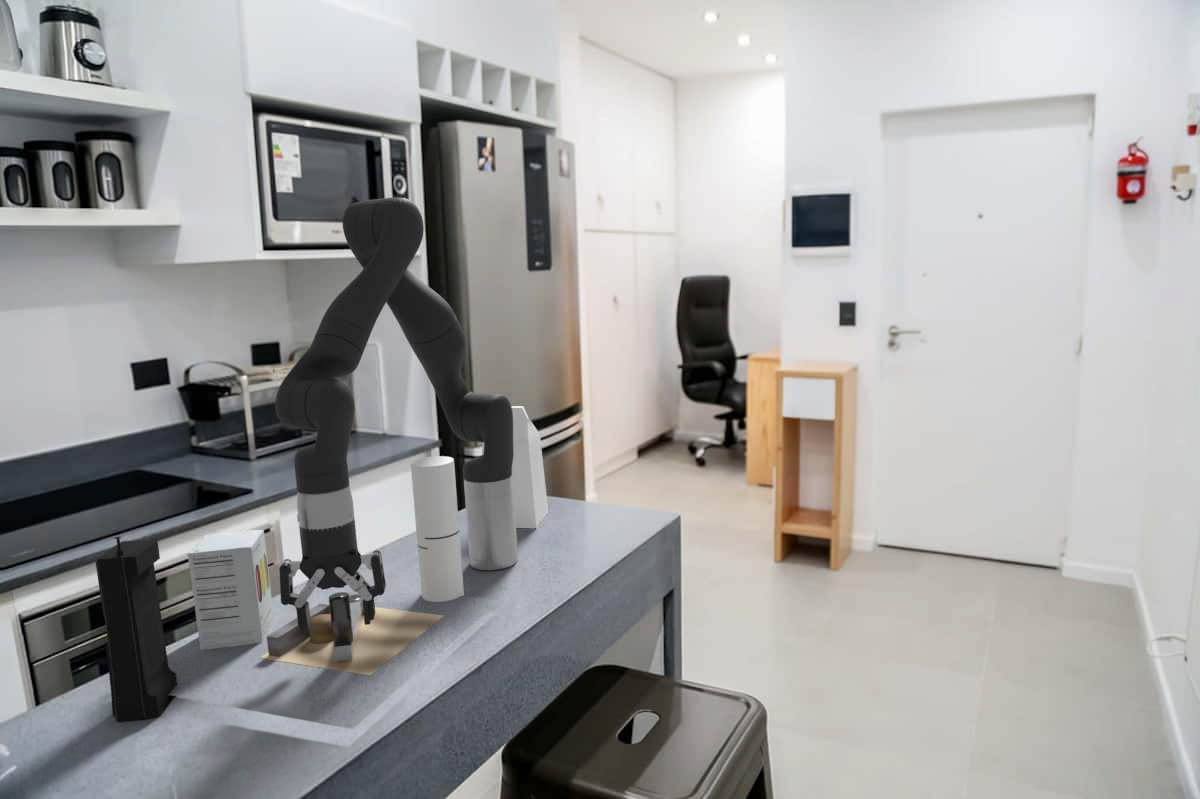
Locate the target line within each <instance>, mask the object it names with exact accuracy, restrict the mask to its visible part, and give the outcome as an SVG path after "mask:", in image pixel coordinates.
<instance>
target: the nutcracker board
mask: <svg viewBox="0 0 1200 799" xmlns="http://www.w3.org/2000/svg"><path fill="white" fill-rule="evenodd" d="M309 610H310V619H311V618H313V617H315V616H318V615H323V614H330V606H329V604H326V603H325V604H324V603H319V604H317V605H314V606H313V607H312V608H311V609H310V608H309ZM444 617H445V615H443V614H435V613H434V614H433V613H428V612H427V613H426V612H418V611H411V610H401V609H394V608H387V607H386V608H385V607H378V606H375V616H374V619H373V620H371V623H370V624H368V625H365V622H364V613H362V616H361V621H360V625H359V630H358V635H357V640H356V645H355V649H354V654H353V659H351V660H343V661H335V655H334V644H333V641H330V642H327V643H321V644H316V643H312V642H311V641H310V632H309V631H305V632H304V631H303V628H300V627H299V626H298V619H297V617H295V618H294V619H293V620H291V621H290V622H288V623H286V624H285V625H283V626H281V627H279V628H278V629H276V630H274V631H273V632H271V633H270V634H268V635H266V642H267V643H266V644H267V649H268V650H267V652H266V653H263V655H261V656H259V659H263V660H270V661H277V662H282V663H289V664H295V665H300V666H301V665H302V666H308V667H314V668H321V669H327V670H332V671H333V670H334V671H340V672H346V673H352V674H357V675H358V674H359V675H365V676H372V675H373V674H375V673H376V672H377V671H379V669H380V668H382V667H383V666H384V665H386V664H388V662H390V661H391V660H393V658H394V657H396V656H397V655H398V654H400V652H402V651H403V650H404V649H406V648H407V647H408V646H409V645H411V644H412V643H413V642H414V641H416V639H418V638H419V637H420V636H422V635H423V634H424V633H426V632H427V631H428V630H429V629H430V628H432V627H433V626H434V625H435V624H437V622H439V621H440V620H441V619H443V618H444Z"/></svg>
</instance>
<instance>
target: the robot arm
mask: <svg viewBox="0 0 1200 799" xmlns="http://www.w3.org/2000/svg"><path fill="white" fill-rule="evenodd" d="M424 228H425V226H424V219H423V216H422V213H421V211H420V209H419V207H418V206H417V205H416V204H415V203H414V202H413V201H412V200H410V199H408V198H406V197H384V198H375V199H367V200H361V201H357V202H353V203H351V204H349V205H348V206H347V207H346V208H345V210H344V212H343V215H342V229H343V235H344V237H345V240H346V243H347V245H348V247H349V249H350V251H351V253H352V254H353V255H354V257H355V259H356V260H357V262H358V263H359V264H360V266H361V267H362V270H361V271H360V273H359V274H358V275H357V276H356V277H355V278H354V279H353V280H352V281H351V282H350V283H349V284H348V285H347V286H346V287H345V288H344V289H343V290H342V291H341V292H340V293H339V294H338V295H337V296H336V298H334V299H333V301H332V302H331V303H330V305H329V306H328V307H327V309H326V311H325V312H324V315H323V317H322V318H321V321H320V323H319V325H318V328H317V330H316V333H315V335H314V337H313V339H312V342H311V345H310V346H309V348H308V349H307V350H306V351H305V352H304V353H303V355H301V357H300V358H299V359H298V361H297V362H296V364H294V366H293V367H292V368H291V369H290V371H289V372H288V373H287V375H286V376H285V377H284V379H283V380H282V382H280V385H279V387H278V390H277V393H276V396H275V404H274V406H275V413H276V416H277V418H278V420H279V422H280V423H282V424H283V425H284V426H286V427H287V428H290V429H294V430H314V431H315V430H316V439H315V441H314V442H315V443H314V444H311V445H307V446H303V447H302V448H300V449H298V450H297V451H296V453H295V454H294V458H293V459H294V461H293V462H294V473H295V475H294V476H295V482H296V490H297V492H296V493H297V495H296V496H297V499H296V501H297V502H296V504H297V505H296V511H297V515H296V518H297V522H298V528H299V538H300V546H301V554H302V556H301V560H297V561H295V560H294V561H293V560H291V559H289V558H286V559H284V560H283V562H282V563H281V565H280V567H279V570H278V571H279V587H280V588H279V590H280V603H281V604H282V605H283V606H288V605H290V606H294V608H295V610H296V618H297V619H298V626H299V627H300V628H303V631H304V632H305V631H309V630H310V627H311V619H310V602H309V601H308V599H309V597H310V596H312V594H313V592H314V591H315V589H316V587H317V588H319V589H320V590H321V591H323V590H328V589H331V588H334V589H341V588H342V589H343V588H345V587H346V586H348V587H349V588H350V589H351V590H352V591H353V592H356V594H359V595H360V596H361V597H362V598H363V611H364V622H365V625H368V624H370V623H371V620H373V619H374V616H375V607H376V605H375V604H376V603H375V598H376V597H378V596H382V595H384V593H385V591H386V586H387V584H386V578H385V570H384V564H383V559H382V558H383V557H382V552H381V551H380V550H377V549H376V550H374V551H373V553H369V554H363V555H362V554H361V553H360V551H359V550H358V549H359V548H358V540H357V530H356V529H357V528H356V522H355V521H356V520H355V509H354V508H355V507H354V500H353V495H352V491H351V487H350V476H349V467H348V452H349V446H350V442H351V440H350V439H351V434H352V430H353V429H352V428H353V423H354V417H355V409H356V408H355V407H356V406H355V400H354V397H353V393H352V392H351V389H349V388H350V387H348V386H347V384H345V382H343V381H342V380H339V379H338V378H341V377H345V376H347V375H351V374H352V373H354V372H355V370H357V369H358V367H359V364H360V361H361V359H362V357H363V354H364V352H365V349H366V347H367V344H368V341H369V338H370V337H371V334H372V331H373V329H374V326H375V324H376V322H377V320H378V318H379V316H380V314H381V312H382V311H383V309H384V307H385V305H386V304H387V306H388V307H389V309H390V311H391V313H392V314H393V315H394V317H395V319H396V321H397V322H398V324H399V326H400V329H401V331H402V332H403V334H404V336H405V339H406V340H407V342H408V344H409V345H410V347H411V349H412V351H413V353H414V354H415V356H416V357H417V359H418V361H419V363H420V364H421V366H422V368H423V369H424V372H425V373H426V375H427V377H428V380H429V381H430V383H431V385H432V387H433V389H434V392H435V393H436V396H437V399H438V401H439V403H440V405H441V407H442V410H443V413H444V416H445V418H446V420H447V422H448V425H449V427H450V429H451V430H452V432H453V434H454V435H455V436H456V437H457V438H458V439H460V440H463V441H465V442H473V443H474V442H476V443H483V442H484V453H483V455H482V454H481V456H476V457H475V458H472V459H470V460H468V461H466V462H465V463H463V467H462V474H463V475H462V476H463V477H462V478H463V488H464V489H463V490H464V499H465V502H464V503H465V514H466V516H465V517H466V529H467V540H468V541H467V542H468V555H469V556H468V558H469V565H470V567H471V568H473V569H476V570H480V571H495V570H496V571H497V570H502V569H507V568H509V567H511V566H513V565H515V564H516V563H517V562H518V555H519V553H518V552H519V551H518V550H519V549H518V536H517V529H516V518H515V510H514V497H513V482H512V463H513V455H514V449H513V412H512V407H511V406H512V405H511V402H510V400H509V399H508V397H507V396H505V395H503V394H501V393H500V394H499V393H484V392H483V393H482V392H472V391H471V389H470V388H469V387H468V386H467V383H466V381H465V380H464V377H463V374H462V367H463V362H464V358H465V356H466V354H465V353H466V349H467V343H466V342H467V341H466V340H467V338H466V336H465V332H464V330H463V328H462V325H461V324H460V322H459V320H458V318H457V315H456V314H455V312H454V310H453V308H452V307H451V305H450V303H449V302H447V301H446V299H444V298H443V297H442V296H441V295H440V294H439V293H437V292H436V291H435V290H434V289H433V288H431V287H430V286H429V285H427V284H426V283H424V281H422V280H421V279H419V278H418V277H417V276H415V275H414V273H412V272H411V271H410V270H409V269H408V268H409V266H410V264H411V263H412V261H413V260H414V258H415V256H416V254H417V253H418V252H419V248H420V247H421V244H422V241H423V238H424V231H425V230H424ZM362 564H364V565H365V566H366V568H367V569H368V570H372V571H371V572H372V578H373V582H374V585H370V583H369V582H367V580H366V579H365V577H364V576H363V575H362V574H361V573H360V572H359V571H358V570H359V569H360V568H361V566H362ZM298 570H300V571H301V573H302V574H303V575H304V576H305V577H306V578H308V580H307V582H306V583H305V585H304V586H303V587H302V590H301V591H300V592H299V593H298V592H297V593H296V592H294V582H293V580H294V579H293V578H295V576H296V575H297V573H298Z"/></svg>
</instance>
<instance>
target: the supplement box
mask: <svg viewBox="0 0 1200 799" xmlns="http://www.w3.org/2000/svg"><path fill="white" fill-rule="evenodd" d="M187 558H188V566H189V573H190V574H189V575H190V580H191V581H190V582H191V587H192V595H193V603H194V609H195V618H196V625H197V633H198V640H199V642H198V643H199V649H200V650H212V649H221V648H230V647H238V646H239V647H240V646H246V645H253V644H261V643H263V642H264V640H265V638H266V637H267V634H268V632H269V630H270V628H271V626H272V624H273V621H274V618H275V617H274V608H273V599H272V598H273V597H272V591H271V581H270V573H269V572H270V571H269V565H268V564H269V563H268V556H267V548H266V539H265V531H264V529H254V530H253V529H252V530H243V531H234V532H223V533H222V532H221V533H215V534H206V535H203V537H202V538H201V540H200V541H199V542H198V543H197V544H196V545H195V547H194V548H192V549H191V551H189V552H188V554H187Z"/></svg>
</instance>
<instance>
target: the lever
mask: <svg viewBox="0 0 1200 799" xmlns="http://www.w3.org/2000/svg"><path fill="white" fill-rule="evenodd" d="M328 605H329V606H330V615H331V625H332V635H333V644H334V655H335V661H343V660H351V659H353V654H354V649H355V645H356V640H357V635H358V630H359V625H360V621H361V616H362V613H364V611H363V598H362V597H361V596H360V595H359V594H358V593H356V594H355V593H354V594H349V592H345V591H341V592H335V593H333V594H331V595H329V596H328Z"/></svg>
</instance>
